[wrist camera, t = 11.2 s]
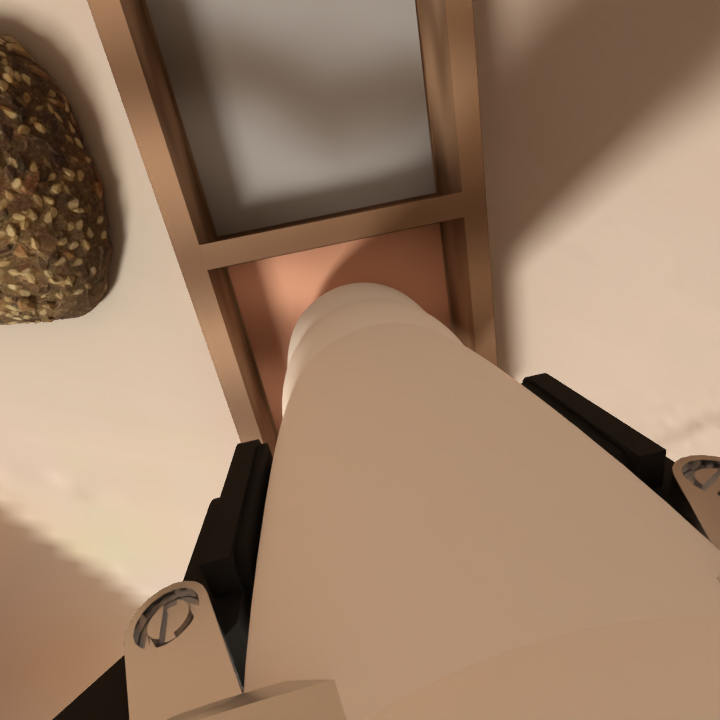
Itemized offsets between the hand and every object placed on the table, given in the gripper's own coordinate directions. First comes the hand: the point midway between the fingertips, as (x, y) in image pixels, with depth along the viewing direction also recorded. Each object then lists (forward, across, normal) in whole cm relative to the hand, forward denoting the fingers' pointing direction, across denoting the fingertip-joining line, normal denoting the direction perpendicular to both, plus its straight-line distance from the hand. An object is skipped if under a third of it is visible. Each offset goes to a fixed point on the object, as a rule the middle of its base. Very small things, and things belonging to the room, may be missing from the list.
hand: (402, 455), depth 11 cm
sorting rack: (+12, 0, -6) cm, 13 cm away
